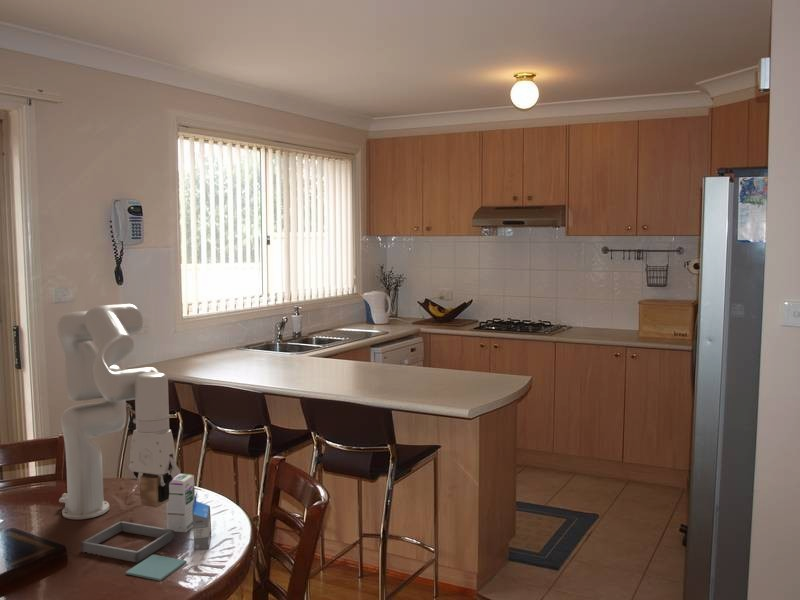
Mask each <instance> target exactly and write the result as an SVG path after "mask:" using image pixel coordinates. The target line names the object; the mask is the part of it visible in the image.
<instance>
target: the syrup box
mask: <svg viewBox="0 0 800 600" xmlns="http://www.w3.org/2000/svg"><path fill="white" fill-rule="evenodd" d="M195 495H196V490H195V475H194V474H190V473H180V474H179V475H177V476H176V477H175V478H174V479H173V480H172V481H171V482H170V483H169V501H168V502H166V505H165V506H166V507H165V508H166V526H167V527H166V529H170V530H174V533H184V534H185V533H188V531H189V530H191V529H193V516H192V505H193V501H194V498H195ZM194 503H195V502H194Z"/></svg>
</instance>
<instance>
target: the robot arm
mask: <svg viewBox="0 0 800 600" xmlns="http://www.w3.org/2000/svg"><path fill="white" fill-rule="evenodd" d="M143 319H144V318H143V314H142V312H141V311H140V309H139V308H138V306H136V305H134V304H131V303H118V304H117V303H116V304H115V303H114V304H104V305H103V304H102V305H96V306H93V307H92V308H90V309H88V310H81V311H72V312H67V313H65V314H63V315H61V316H60V317H59V318H58V321H57V327H56V328H57V336H58V339H59V343H60V345H61V347H62V349H63V350H62V351H63V355H64V370H65V371H64V374H65V376H64V377H65V392H66V395H67V397H68V399H69V400H71V401H74V402H82V401H84V402H85V401H90V400H99V399H104V400H102V401H99V402H98V401H97V402H90V403H83V404H78V405H73V406H71V407H68V408H66V409H64V411H63V412H62V414H61V416H60V427H61V430H62V435H63V441H64V450H65V462H66V463H65V466H66V467H65V468H66V486H67V487H66V488H67V489H66V490H67V493H66V492H64V493H62V494H61V497H60V498H59V499H58V502H59V503H63V504H64V505H65V506H64V508H63V509H62V510H61V513H62V514H61V515H62V516H63V518H66V519H69V520H87V519H88V520H89V519H91V518H96V517H99V516H102V515H104V514H106V513H107V512H108V511H109V510H110V503H109V502H108V501H106V500H104V479H103V476H104V475H103V454H102V453H103V451H102V450H101V447H100V445H98V443H96V442H95V441H94V440H93V438H94V437H98V436H103V435H107V434H112V433H116V432H120V431H122V429H123V430H124V427H125V425H126V422H127V421H126V420H127V404H126V403H127V401H133V400H134V406H135V411H134V412H135V418H133V420H132V422H133V424H135V429H134V430H133V432H132V435H131V441H130V453H129V456H130V457H129V460H130V461H129V462H130V463H129V465H128V466H127V467H128V468H127V469H128V470H129V471H131V472H132V473H133V476H135V478H136V479H137V480H136V481H137V482H138V484H140V476H143V475H145V474H153V475H158V477H159V482H160V486H158V494H159V502H163V501H165V500H167V499H168V498H169V483H170V482H171V481H172V480H173V479H174V478H175V477H176V476H177V475H179V474H181V470H180V468H179V466H178V464H177V463H176V451H175V450H176V449H175V448H176V447H175V442H174V437H173V433H172V432H173V431H172V429H170V411H169V410H170V407H169V406H170V405H169V378H168V376H167V374H165V373H163V372H159V370H158V369H157V368H155V367H152V366H144V367H137V368H128V369H127V368H125V369H122V368H121V367H120V366H119V365H117V364H119V363H120V362H121V361H123V360H125V359H126V358H127V357H129V355H131V353H132V352H133V350H134V345H135V342H134V339H133V337H132V336H134V335H137V334H138V333H140V332H141V330H142V328H143V323H144V320H143ZM92 342H93V343H94V344H93V343H92ZM96 348H97V349H96ZM170 471H171V472H170ZM164 474H165V478H164ZM139 491H140V492H139V493H140V495H141V487H140V486H139Z"/></svg>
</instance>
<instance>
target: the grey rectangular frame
mask: <svg viewBox="0 0 800 600" xmlns="http://www.w3.org/2000/svg"><path fill="white" fill-rule="evenodd" d="M121 532H124V533H128V534H136V535H141V536H147V537H152V538H156V539H155V540H153V541H151V542H150V543H148V544H146V545H144V546H143V547H142V548H141V547H140V549H138V550H137V551H136V550H132V549H126V548H121V547H116V546H111V545H106V544H101V543H103V542H104V541H107V540H108V539H110V538H112V537H113V536H115V535H117V534H119V533H121ZM174 540H175V532H174V530H170V529H167V528H164V527H158V526H153V525H146V524H141V523H135V522H130V521H123V520H120V521H118V522H116V523H114V524H113V525H110V526H109V527H107V528H105V529H103V530H101V531H99V532H98V533H96V534H94V535H92V536H91V537H89V538H87V539H85V540H83V541H81V543H80V545H81V546H80V547H81V552H82V553H85V552H87V553H86V554H91V553H92V554H91V555H96V554H97V556H101V555H102V556H103V557H106V558H113V559H117V560H123V561H128V562H133V563H137V564H139V563H140V562H142V561H143V560H145V559H147V558H148V557H150V556H151V555H153V553H155V552H157V551H158V550H159V549H161V548H162V547H165V545H166V546H167V544H170V543H171V542H172V541H174Z"/></svg>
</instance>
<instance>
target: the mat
mask: <svg viewBox="0 0 800 600" xmlns="http://www.w3.org/2000/svg"><path fill="white" fill-rule="evenodd" d="M186 564H187V560H186V559H181V558H180V559H179V558H175V557H169V556H163V555H159V554H153V553H152V554H150V555H149V556H147V557H146V558H144V559H142V560H141V561H139V562H138V563H137V564H136V565H134V566H133V567H131V568H129V569H128V570H127V571H125V575H130V576H135V577H138V578H139V577H140V578H144V579H148V580H149V579H150V580H154V581H159V582H161V581H162V580H163V579H165V578H167V577H168V576H170V575H171V574H172V573H174V572H176V571H177V570H178V569H180V568H182V566H183V565H186Z"/></svg>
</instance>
